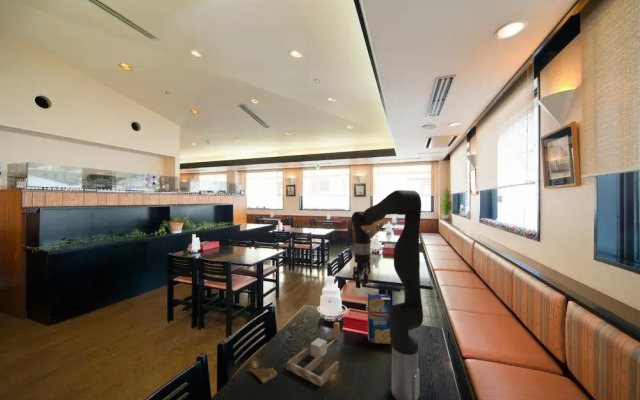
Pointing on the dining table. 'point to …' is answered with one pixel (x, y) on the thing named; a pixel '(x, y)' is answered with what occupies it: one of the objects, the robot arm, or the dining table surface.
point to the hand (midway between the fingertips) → (362, 285)
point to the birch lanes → (311, 368)
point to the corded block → (324, 343)
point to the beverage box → (379, 318)
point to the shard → (264, 373)
